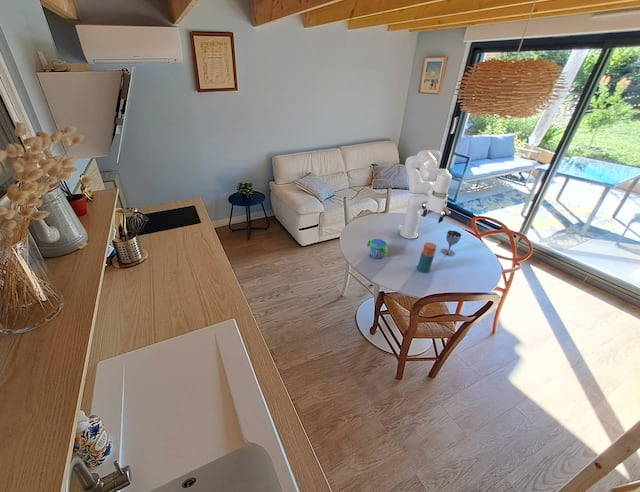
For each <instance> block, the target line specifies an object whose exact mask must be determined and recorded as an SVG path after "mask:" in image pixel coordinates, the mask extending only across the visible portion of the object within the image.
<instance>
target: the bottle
mask: <svg viewBox="0 0 640 492" xmlns="http://www.w3.org/2000/svg"><path fill="white" fill-rule="evenodd" d="M434 258H435V255H434V256H433V257H428V256H425V255H424V254H423V253H422V252H421V254H420V257H419V261H418V264H417V268H416V269H417V270H418V271H419V272H421V273H425V274H426V273H429V272H430V270H431V267H432V265H433V260H434Z"/></svg>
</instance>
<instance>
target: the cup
mask: <svg viewBox="0 0 640 492" xmlns="http://www.w3.org/2000/svg"><path fill="white" fill-rule="evenodd" d="M436 250H437V245H436V244H434V243H433V242H425V243H424V244H423V248H422V250H421V253H423V254H424V255H425V256H428V257H433V256H434V257H435V253H436Z"/></svg>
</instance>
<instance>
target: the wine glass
mask: <svg viewBox="0 0 640 492" xmlns="http://www.w3.org/2000/svg"><path fill="white" fill-rule="evenodd" d="M461 237H462V234H461V233H460V232H459V231H456V230H448V231H447V232H446V237H445V240H446V242H447V244H448V249H447V248H446V249H445V248H443V249H442V250H441V252H442V253H443V254H444V255H446V256H451V257H452V256H454V252H453V251H452V250H450V249H451V247H452V246H454V245H456V244H458V243H459V241H460V240H461Z"/></svg>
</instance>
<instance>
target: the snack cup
mask: <svg viewBox="0 0 640 492" xmlns="http://www.w3.org/2000/svg"><path fill="white" fill-rule="evenodd" d="M366 246H367V247H370V249H369V250H370V257H372V258H374V259H381V258H382V257H384V258H386V257H388V256H389V249H388V243H387V241H385V240H383V239H382V238H373V239H370V240H368V241H367V244H366ZM384 253H385V254H384Z"/></svg>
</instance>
